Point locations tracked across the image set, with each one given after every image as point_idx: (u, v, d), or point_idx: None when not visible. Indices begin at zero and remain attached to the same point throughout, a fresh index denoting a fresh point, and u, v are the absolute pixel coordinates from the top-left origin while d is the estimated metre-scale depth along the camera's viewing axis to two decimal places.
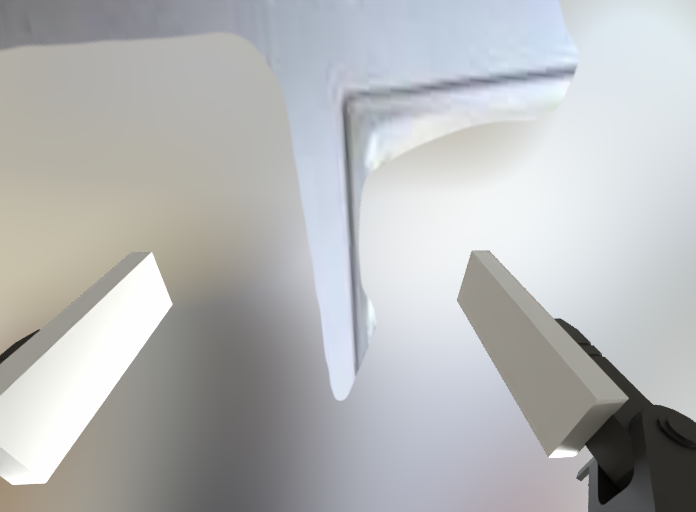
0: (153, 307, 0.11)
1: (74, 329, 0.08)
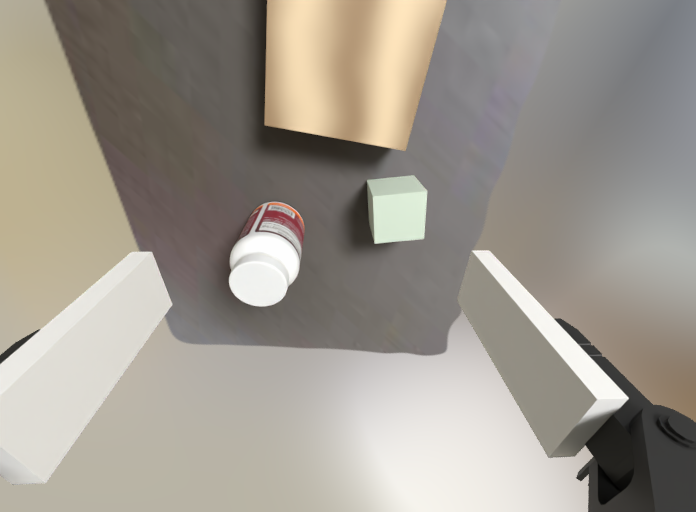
0: (153, 307, 0.11)
1: (74, 329, 0.08)
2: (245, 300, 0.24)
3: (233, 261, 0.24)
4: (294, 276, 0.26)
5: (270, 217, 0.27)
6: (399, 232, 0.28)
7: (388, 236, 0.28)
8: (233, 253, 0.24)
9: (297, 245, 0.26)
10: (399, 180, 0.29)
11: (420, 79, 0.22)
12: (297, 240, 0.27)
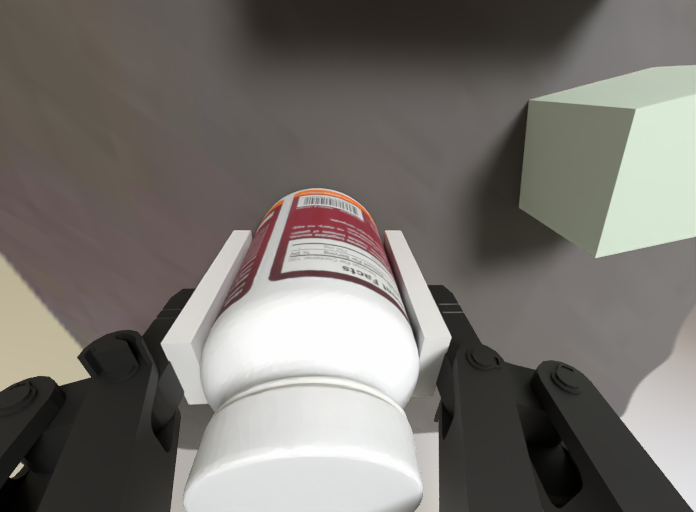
0: None
1: (222, 285, 0.09)
2: None
3: (209, 391, 0.07)
4: (408, 400, 0.08)
5: (307, 224, 0.10)
6: (678, 216, 0.10)
7: (642, 232, 0.10)
8: (206, 367, 0.07)
9: (400, 298, 0.09)
10: (636, 78, 0.11)
11: None
12: (393, 280, 0.09)
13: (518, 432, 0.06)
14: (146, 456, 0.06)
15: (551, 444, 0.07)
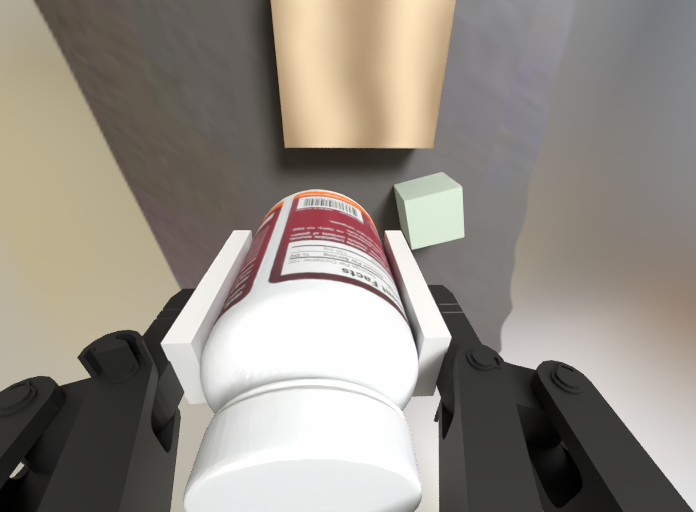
0: None
1: (222, 285, 0.09)
2: None
3: (209, 393, 0.07)
4: (408, 401, 0.08)
5: (306, 226, 0.10)
6: (436, 233, 0.26)
7: (425, 239, 0.26)
8: (206, 370, 0.07)
9: (399, 300, 0.09)
10: (428, 180, 0.27)
11: (440, 70, 0.20)
12: (392, 281, 0.09)
13: (518, 432, 0.06)
14: (146, 456, 0.06)
15: (551, 444, 0.07)
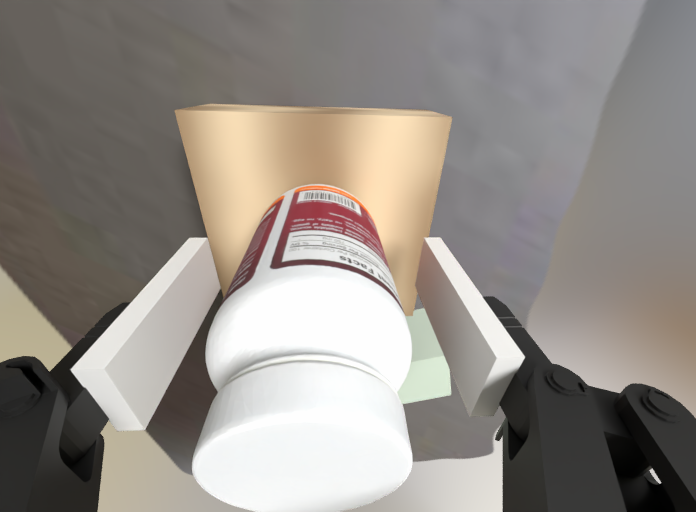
0: (208, 288, 0.12)
1: (160, 300, 0.09)
2: (266, 510, 0.07)
3: (215, 372, 0.07)
4: (402, 383, 0.09)
5: (306, 218, 0.10)
6: (418, 393, 0.22)
7: (405, 398, 0.22)
8: (212, 349, 0.07)
9: (394, 288, 0.09)
10: (410, 322, 0.23)
11: (420, 247, 0.16)
12: (388, 271, 0.10)
13: (608, 467, 0.05)
14: (54, 489, 0.05)
15: (633, 473, 0.07)
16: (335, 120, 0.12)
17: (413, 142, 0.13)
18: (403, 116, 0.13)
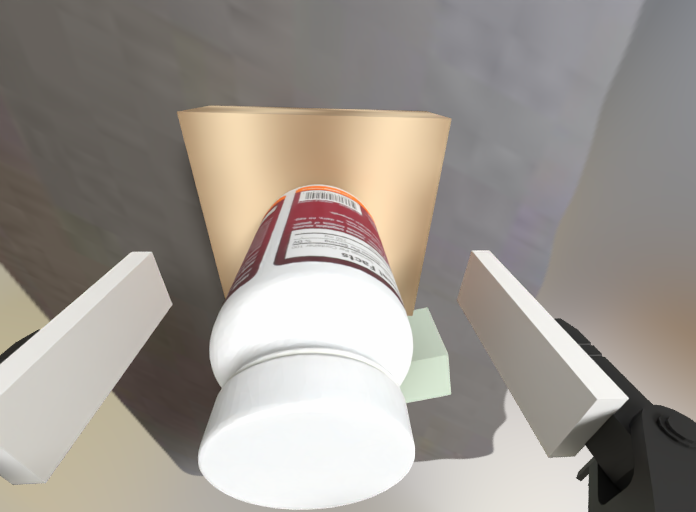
0: (153, 307, 0.11)
1: (74, 329, 0.08)
2: (270, 503, 0.07)
3: (219, 367, 0.08)
4: (403, 379, 0.09)
5: (308, 216, 0.10)
6: (418, 392, 0.22)
7: (405, 397, 0.22)
8: (216, 344, 0.07)
9: (395, 285, 0.09)
10: (410, 322, 0.23)
11: (420, 247, 0.16)
12: (389, 268, 0.10)
13: None
14: None
15: None
16: (335, 121, 0.13)
17: (413, 143, 0.13)
18: (403, 118, 0.13)
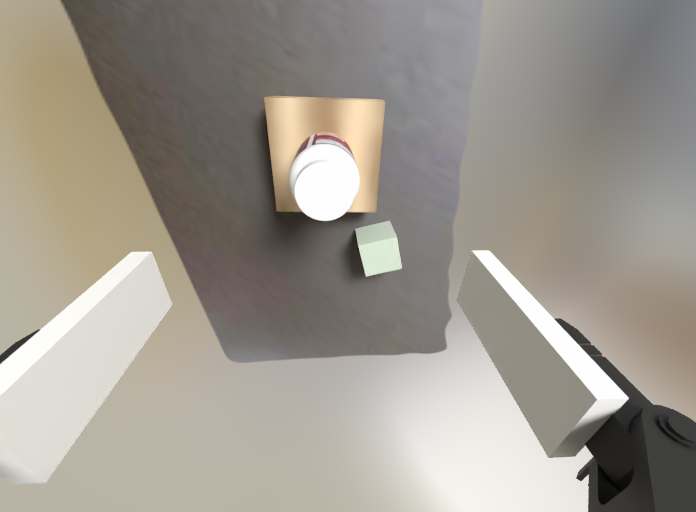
0: (153, 307, 0.11)
1: (74, 329, 0.08)
2: (311, 214, 0.23)
3: (293, 178, 0.23)
4: (356, 190, 0.24)
5: (322, 137, 0.26)
6: (382, 266, 0.38)
7: (375, 270, 0.38)
8: (293, 169, 0.23)
9: (354, 160, 0.25)
10: (378, 227, 0.39)
11: (376, 168, 0.32)
12: (353, 157, 0.26)
13: None
14: None
15: None
16: (333, 102, 0.28)
17: (368, 112, 0.29)
18: (363, 100, 0.28)
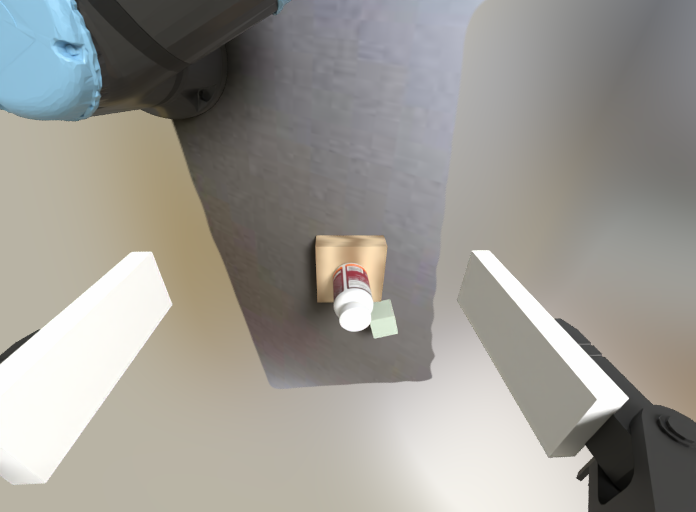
0: (153, 307, 0.11)
1: (74, 329, 0.08)
2: (347, 329, 0.41)
3: (337, 307, 0.42)
4: (371, 311, 0.43)
5: (351, 276, 0.45)
6: (385, 332, 0.57)
7: (380, 334, 0.57)
8: (337, 302, 0.42)
9: (370, 292, 0.44)
10: (382, 305, 0.58)
11: (381, 278, 0.51)
12: (369, 288, 0.44)
13: None
14: None
15: None
16: (356, 247, 0.47)
17: (377, 252, 0.48)
18: (374, 246, 0.47)
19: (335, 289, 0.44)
